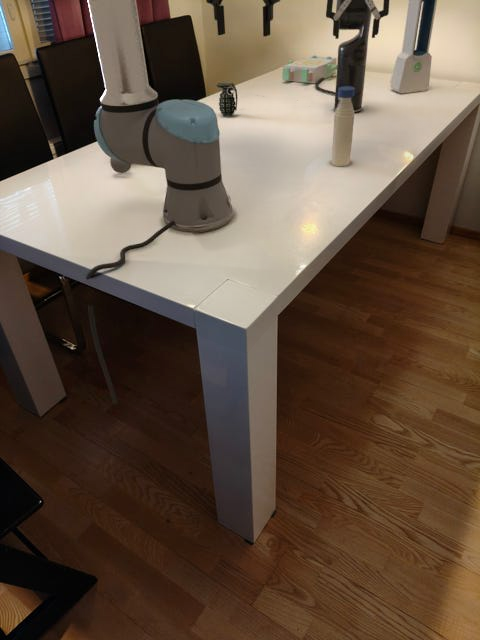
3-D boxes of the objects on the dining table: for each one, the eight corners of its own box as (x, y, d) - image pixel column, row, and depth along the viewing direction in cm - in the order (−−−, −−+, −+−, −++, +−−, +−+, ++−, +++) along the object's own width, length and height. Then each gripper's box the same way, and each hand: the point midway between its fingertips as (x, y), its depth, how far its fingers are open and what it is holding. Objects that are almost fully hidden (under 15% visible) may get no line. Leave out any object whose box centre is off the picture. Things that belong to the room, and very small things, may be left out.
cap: (339, 93, 121) (339, 86, 120) (355, 94, 120) (355, 86, 119) (336, 97, 118) (337, 90, 117) (353, 98, 117) (353, 90, 116)
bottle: (332, 159, 132) (337, 87, 121) (351, 160, 130) (357, 87, 119) (329, 165, 128) (334, 92, 117) (348, 166, 127) (355, 92, 116)
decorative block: (304, 53, 218) (345, 56, 208) (304, 69, 222) (344, 73, 212) (273, 65, 202) (316, 68, 192) (273, 81, 206) (315, 86, 196)
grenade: (217, 117, 168) (214, 86, 162) (221, 112, 172) (219, 82, 166) (235, 117, 166) (233, 86, 160) (239, 113, 171) (238, 82, 165)
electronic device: (398, 94, 180) (412, -3, 162) (388, 89, 186) (400, -5, 168) (428, 90, 183) (445, -6, 164) (417, 86, 188) (432, -7, 170)
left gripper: (294, -71, 114) (292, 33, 127) (203, -65, 124) (210, 31, 137) (281, -70, 109) (280, 38, 122) (187, -64, 119) (196, 36, 132)
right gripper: (395, -49, 108) (385, 34, 119) (330, -46, 111) (326, 36, 121) (396, -48, 103) (385, 40, 113) (328, -44, 106) (323, 41, 116)
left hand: (243, 35), depth 129 cm, fingers open, 13 cm apart
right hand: (354, 37), depth 117 cm, fingers open, 8 cm apart
